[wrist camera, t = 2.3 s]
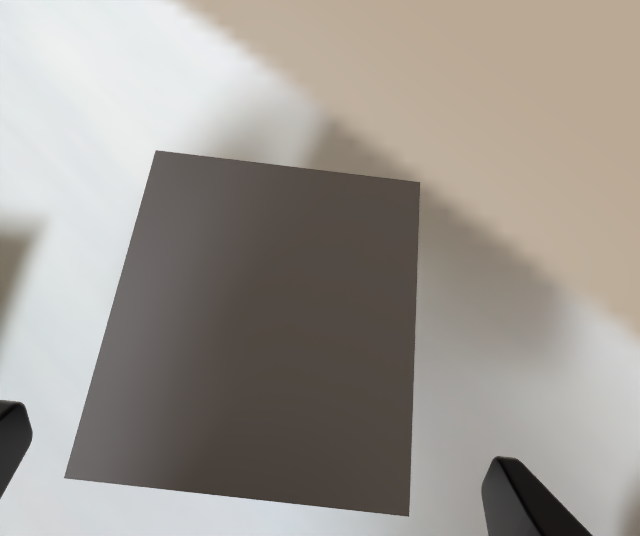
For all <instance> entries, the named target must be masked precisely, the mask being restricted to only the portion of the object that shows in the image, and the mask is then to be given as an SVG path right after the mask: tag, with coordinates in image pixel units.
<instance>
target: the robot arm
mask: <svg viewBox="0 0 640 536" xmlns="http://www.w3.org/2000/svg"><path fill="white" fill-rule="evenodd" d="M32 434H33V432H32V428H31V424H30V421H29V417H28V414H27V410H26V407H25V405H24V404H23V403H21V402H16V401H7V400H0V499H1V497H2V495H3V493H4V491H5V489H6V488H7V486H8V484H9V482H10V480H11V479H12V477H13V475H14V473H15V471H16V470H17V468H18V466H19V464H20V462H21V461H22V459H23V457H24V455H25V453H26V451H27V450H28V448H29V446H30V444H31V441H32ZM481 492H482V500H483V506H484V512H485V517H486V523H487V529H488V534H489V536H592V535H591V534H590V533H589V532H588V530H587V529H586V528H585V527H584V526H583V525H582V524H581V523H580V522H579V521H578V520H577V519H576V518H575V517H574V516H573V515H572V514H571V513H570V512H569V511H568V510H567V509H566V508H565V507H564V506H563V505H562V504H561V503H560V502H559V500H558V499H557V498H556V497H555V496H554V495H553V494H552V493H551V492H550V491H549V490H548V489H547V488H546V487H545V486H544V485H543V484H542V483H541V482H540V481H539V480H538V479H537V478H536V477H535V476H534V475H533V474H532V473H531V472H530V470H529V469H528V468H527V467H526V466H525V465H524V464H523V463H522V462H521V461H519V460H518V459H516V458H511V457H502V456H496V457H495V458H494V459H493V460H492V462H491V465H490V467H489V469H488V471H487V474H486V476H485V478H484V480H483V483H482V490H481Z"/></svg>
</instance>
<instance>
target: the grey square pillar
mask: <svg viewBox="0 0 640 536" xmlns="http://www.w3.org/2000/svg"><path fill="white" fill-rule="evenodd" d="M419 196H420V182H412V181H404V180H396V179H388V178H379V177H371V176H363V175H355V174H346V173H338V172H330V171H322V170H313V169H305V168H297V167H289V166H280V165H272V164H264V163H256V162H247V161H239V160H231V159H222V158H214V157H206V156H198V155H189V154H181V153H173V152H165V151H156V152H155V155H154V159H153V162H152V166H151V170H150V173H149V177H148V180H147V184H146V187H145V191H144V195H143V198H142V202H141V205H140V209H139V212H138V216H137V220H136V223H135V227H134V230H133V234H132V237H131V241H130V245H129V248H128V252H127V255H126V259H125V262H124V266H123V270H122V273H121V277H120V280H119V284H118V287H117V291H116V295H115V298H114V302H113V305H112V309H111V312H110V316H109V320H108V323H107V327H106V330H105V334H104V337H103V341H102V345H101V348H100V352H99V355H98V359H97V362H96V366H95V370H94V373H93V377H92V380H91V384H90V387H89V391H88V395H87V398H86V402H85V405H84V409H83V412H82V416H81V420H80V423H79V427H78V430H77V434H76V437H75V441H74V445H73V448H72V452H71V455H70V459H69V462H68V466H67V470H66V473H65V477H64V478H68V479H77V480H86V481H95V482H104V483H113V484H122V485H131V486H140V487H149V488H157V489H166V490H175V491H184V492H193V493H202V494H211V495H220V496H229V497H238V498H247V499H256V500H265V501H274V502H283V503H292V504H301V505H310V506H319V507H328V508H337V509H346V510H355V511H364V512H373V513H382V514H391V515H400V516H409V505H410V474H411V443H412V412H413V381H414V350H415V320H416V289H417V258H418V227H419Z"/></svg>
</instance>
